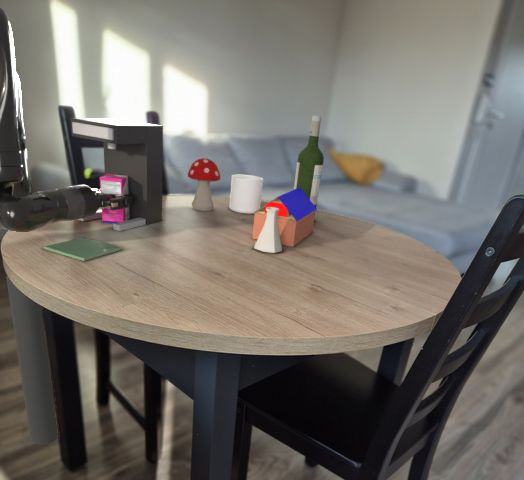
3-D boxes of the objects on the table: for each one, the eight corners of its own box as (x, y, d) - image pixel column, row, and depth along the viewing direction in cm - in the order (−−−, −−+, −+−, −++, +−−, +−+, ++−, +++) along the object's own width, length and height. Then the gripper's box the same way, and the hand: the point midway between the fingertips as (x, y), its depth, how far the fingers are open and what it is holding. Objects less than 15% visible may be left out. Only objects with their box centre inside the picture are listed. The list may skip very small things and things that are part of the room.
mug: (255, 215, 152) (259, 181, 147) (225, 210, 153) (227, 176, 148) (264, 208, 163) (268, 176, 158) (236, 203, 164) (238, 172, 159)
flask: (259, 243, 124) (264, 203, 119) (286, 248, 122) (291, 208, 117) (249, 249, 118) (253, 208, 113) (276, 255, 116) (281, 213, 111)
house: (313, 232, 141) (319, 190, 135) (293, 247, 124) (300, 201, 118) (274, 224, 144) (279, 183, 138) (250, 238, 127) (255, 192, 121)
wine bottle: (292, 215, 158) (306, 114, 144) (316, 219, 156) (332, 117, 142) (287, 219, 151) (301, 114, 137) (311, 223, 150) (328, 117, 136)
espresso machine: (76, 220, 124) (68, 117, 113) (122, 210, 138) (119, 118, 127) (118, 231, 119) (114, 125, 108) (162, 220, 133) (163, 125, 122)
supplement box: (108, 217, 130) (106, 173, 124) (130, 220, 130) (129, 175, 124) (101, 222, 125) (99, 176, 119) (123, 225, 125) (122, 179, 119)
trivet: (44, 249, 101) (44, 246, 101) (83, 239, 110) (83, 236, 110) (83, 261, 97) (83, 258, 97) (121, 250, 106) (120, 247, 106)
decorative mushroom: (186, 210, 147) (188, 158, 140) (186, 204, 154) (188, 154, 147) (219, 213, 149) (222, 162, 142) (217, 207, 156) (220, 158, 149)
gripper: (94, 192, 108) (142, 185, 122) (48, 181, 113) (98, 175, 127) (96, 225, 112) (142, 215, 125) (51, 213, 117) (100, 204, 130)
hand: (120, 195), depth 126 cm, fingers closed on supplement box, 7 cm apart
